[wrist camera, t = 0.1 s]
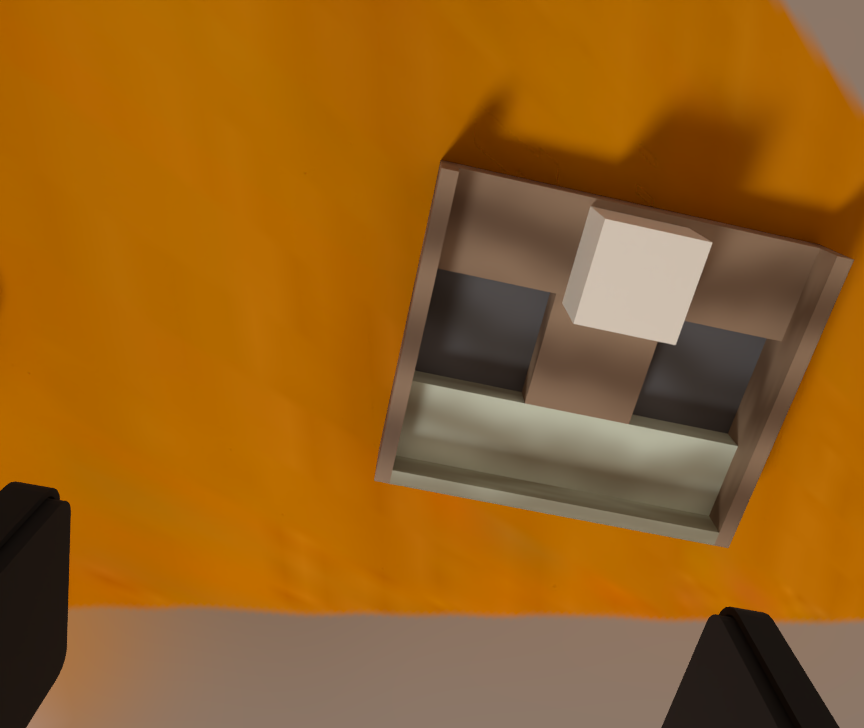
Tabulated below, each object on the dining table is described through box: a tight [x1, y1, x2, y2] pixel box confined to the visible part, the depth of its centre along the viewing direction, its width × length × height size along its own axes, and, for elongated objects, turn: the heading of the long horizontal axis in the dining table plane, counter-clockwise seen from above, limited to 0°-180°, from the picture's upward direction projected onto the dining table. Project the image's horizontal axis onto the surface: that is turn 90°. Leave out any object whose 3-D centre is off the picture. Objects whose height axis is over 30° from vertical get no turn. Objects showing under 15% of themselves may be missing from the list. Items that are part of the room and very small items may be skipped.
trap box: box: [374, 160, 854, 548], centre depth 46 cm, size 20×24×4 cm
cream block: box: [562, 206, 713, 345], centre depth 42 cm, size 6×6×4 cm
